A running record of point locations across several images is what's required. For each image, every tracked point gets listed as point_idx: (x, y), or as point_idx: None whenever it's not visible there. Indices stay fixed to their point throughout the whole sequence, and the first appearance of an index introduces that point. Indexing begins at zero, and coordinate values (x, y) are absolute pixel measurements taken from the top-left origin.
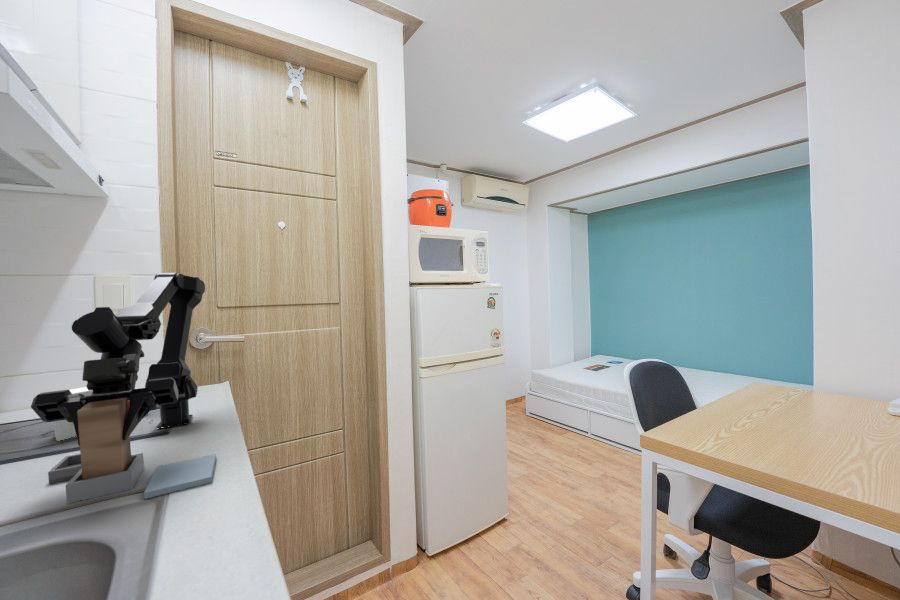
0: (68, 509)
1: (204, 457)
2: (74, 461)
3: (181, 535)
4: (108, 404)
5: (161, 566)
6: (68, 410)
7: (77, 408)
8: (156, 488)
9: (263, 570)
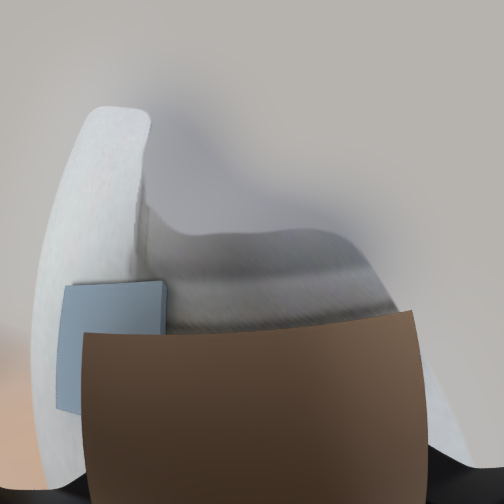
0: (309, 317)
1: (72, 405)
2: None
3: (123, 163)
4: (178, 442)
5: (143, 129)
6: (498, 468)
7: (462, 497)
8: (142, 288)
9: (90, 117)
